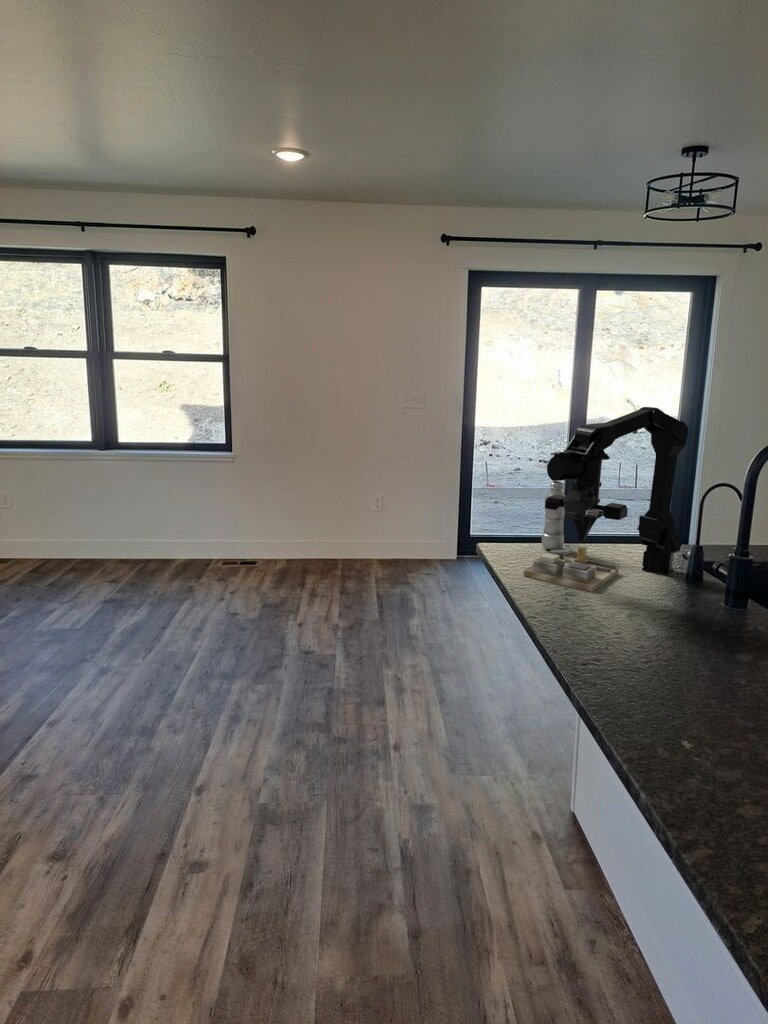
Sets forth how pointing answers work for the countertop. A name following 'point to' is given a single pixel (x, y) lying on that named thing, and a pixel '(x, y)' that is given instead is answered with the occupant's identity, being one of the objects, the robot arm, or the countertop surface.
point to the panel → (573, 573)
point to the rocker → (560, 552)
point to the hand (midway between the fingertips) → (582, 541)
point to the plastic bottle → (554, 521)
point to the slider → (581, 555)
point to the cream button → (549, 558)
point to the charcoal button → (580, 567)
